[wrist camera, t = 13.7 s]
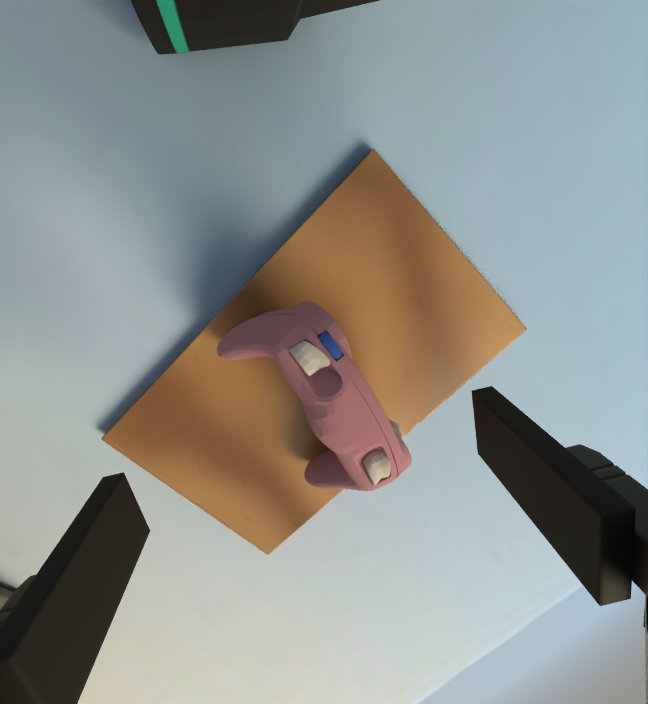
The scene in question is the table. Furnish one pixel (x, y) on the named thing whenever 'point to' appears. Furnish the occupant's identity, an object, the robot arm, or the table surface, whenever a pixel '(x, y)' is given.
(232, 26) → the virtual reality headset
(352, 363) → the video game controller
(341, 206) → the cork mat
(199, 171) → the table surface
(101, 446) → the table surface
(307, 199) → the table surface
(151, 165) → the table surface
